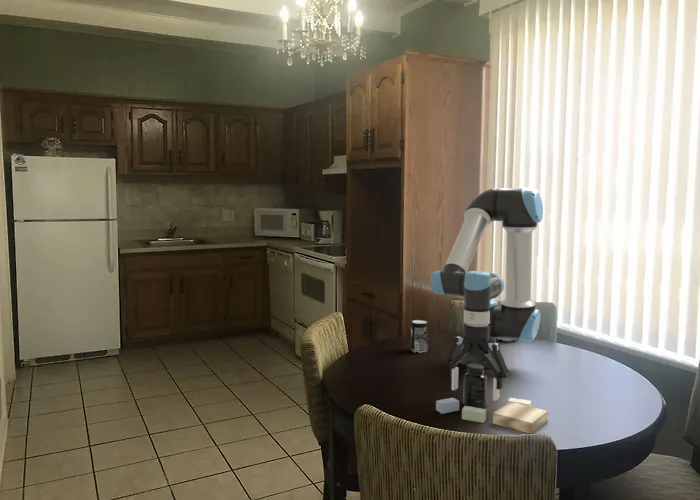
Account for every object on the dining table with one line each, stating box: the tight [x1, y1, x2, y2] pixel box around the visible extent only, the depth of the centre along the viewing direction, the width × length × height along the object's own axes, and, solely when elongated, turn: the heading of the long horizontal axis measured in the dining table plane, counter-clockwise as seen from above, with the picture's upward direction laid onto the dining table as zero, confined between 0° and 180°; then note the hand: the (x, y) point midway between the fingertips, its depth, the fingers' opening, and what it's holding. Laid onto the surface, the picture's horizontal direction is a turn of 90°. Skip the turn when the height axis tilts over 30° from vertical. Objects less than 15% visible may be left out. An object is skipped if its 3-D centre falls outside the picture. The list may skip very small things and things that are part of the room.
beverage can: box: [410, 319, 429, 354], centre depth 229 cm, size 7×7×12 cm
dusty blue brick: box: [435, 397, 460, 415], centre depth 166 cm, size 6×3×3 cm, turn 115°
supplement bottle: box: [462, 363, 488, 409], centre depth 170 cm, size 7×7×12 cm
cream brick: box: [507, 397, 532, 407], centre depth 166 cm, size 6×3×3 cm, turn 62°
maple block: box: [492, 402, 549, 434], centre depth 157 cm, size 11×11×3 cm
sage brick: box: [461, 405, 487, 423], centre depth 160 cm, size 6×3×3 cm, turn 63°
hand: (474, 394), depth 170 cm, fingers open, 13 cm apart
